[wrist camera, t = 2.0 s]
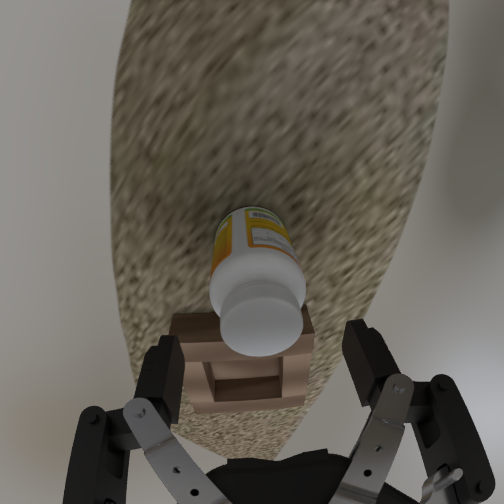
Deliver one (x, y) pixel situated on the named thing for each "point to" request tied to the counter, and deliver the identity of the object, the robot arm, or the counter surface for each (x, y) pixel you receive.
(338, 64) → the counter surface
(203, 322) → the socket block
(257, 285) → the supplement bottle
